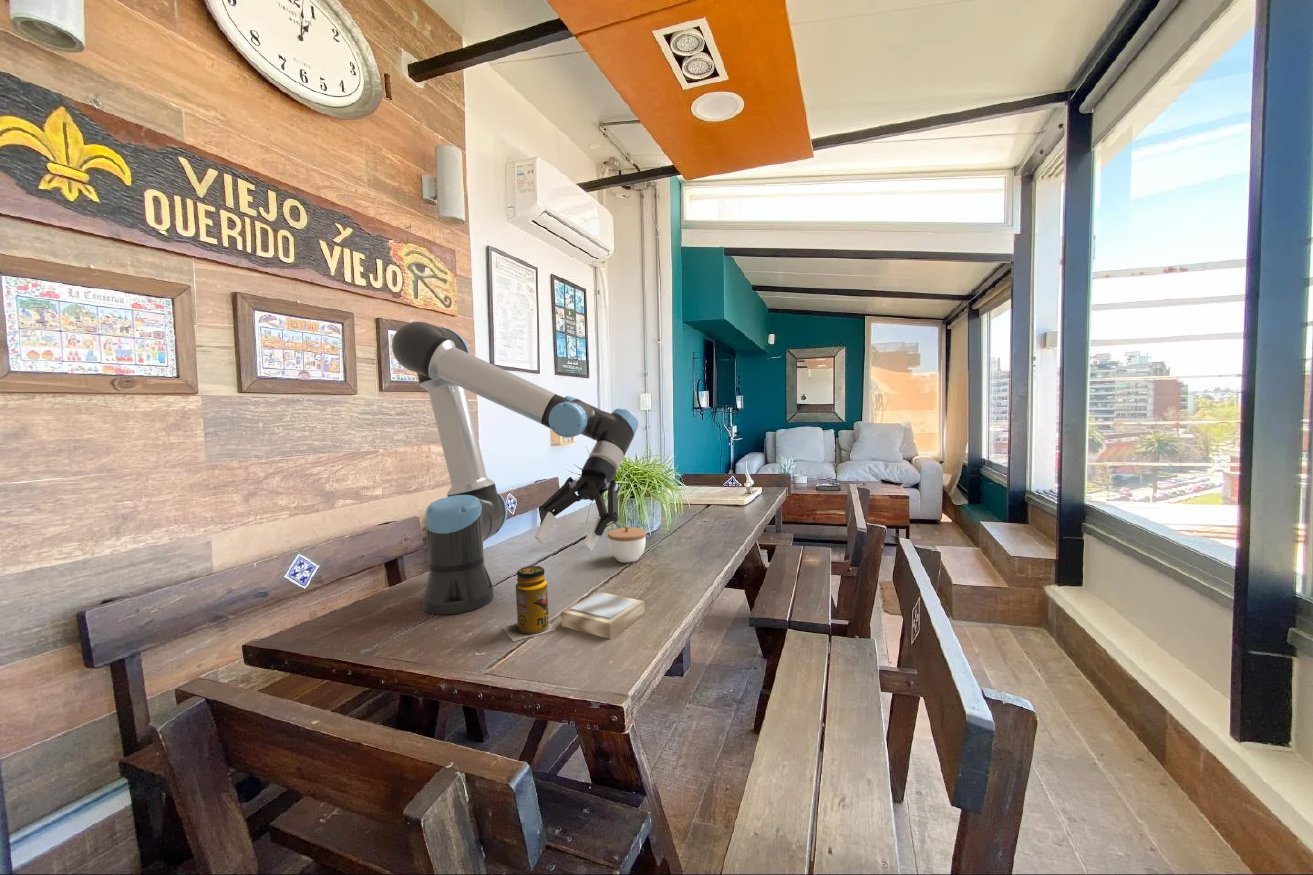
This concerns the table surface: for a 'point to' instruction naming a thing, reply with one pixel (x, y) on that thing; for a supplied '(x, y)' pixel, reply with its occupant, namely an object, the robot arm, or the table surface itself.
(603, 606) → the plinth
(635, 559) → the lidded jar
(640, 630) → the table surface
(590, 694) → the table surface
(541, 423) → the robot arm
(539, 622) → the condiment
